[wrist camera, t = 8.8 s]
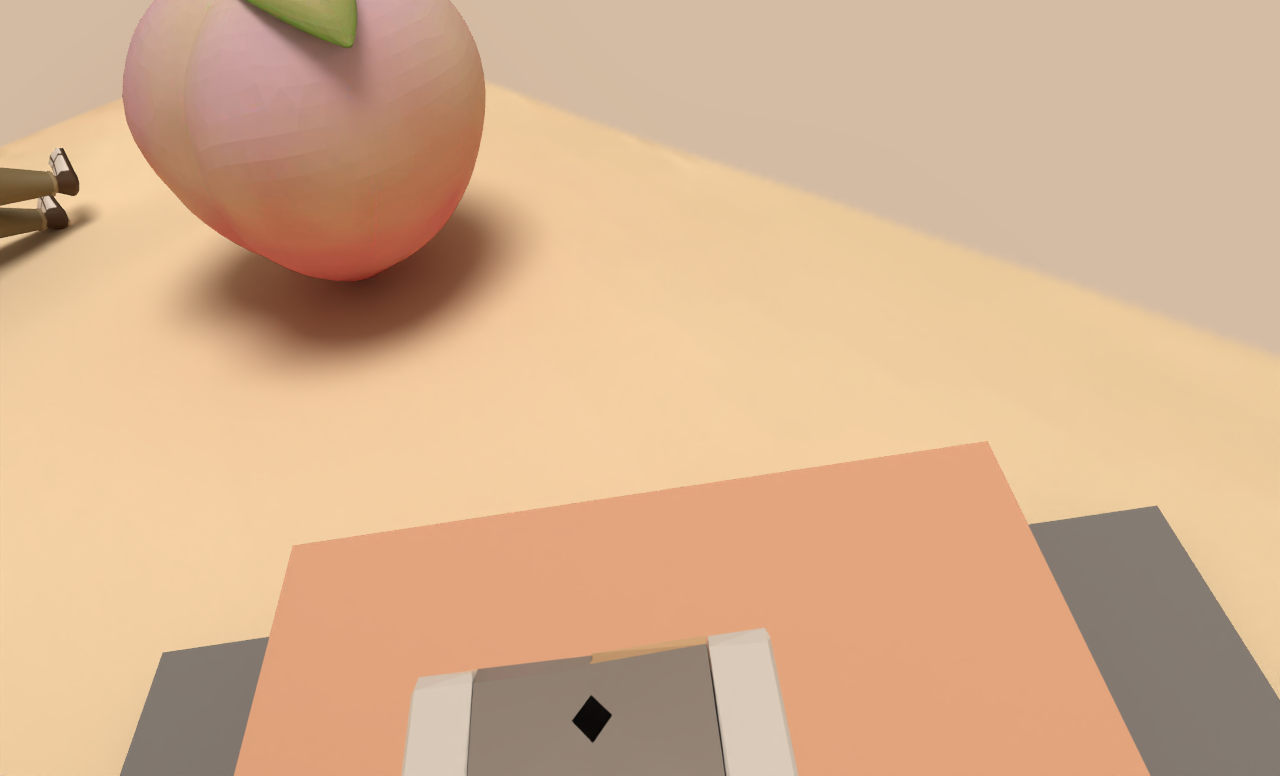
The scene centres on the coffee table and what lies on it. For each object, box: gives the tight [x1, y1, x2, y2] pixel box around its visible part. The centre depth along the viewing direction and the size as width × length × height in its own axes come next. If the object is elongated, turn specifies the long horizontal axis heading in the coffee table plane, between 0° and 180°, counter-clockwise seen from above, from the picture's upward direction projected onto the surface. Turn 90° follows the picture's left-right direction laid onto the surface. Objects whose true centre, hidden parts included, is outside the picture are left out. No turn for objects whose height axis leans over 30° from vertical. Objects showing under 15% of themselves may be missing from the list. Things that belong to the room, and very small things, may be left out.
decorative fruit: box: [122, 0, 485, 281], centre depth 30 cm, size 9×8×10 cm
